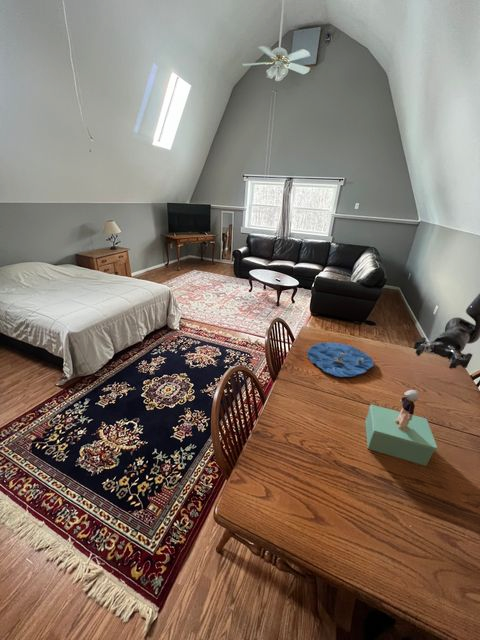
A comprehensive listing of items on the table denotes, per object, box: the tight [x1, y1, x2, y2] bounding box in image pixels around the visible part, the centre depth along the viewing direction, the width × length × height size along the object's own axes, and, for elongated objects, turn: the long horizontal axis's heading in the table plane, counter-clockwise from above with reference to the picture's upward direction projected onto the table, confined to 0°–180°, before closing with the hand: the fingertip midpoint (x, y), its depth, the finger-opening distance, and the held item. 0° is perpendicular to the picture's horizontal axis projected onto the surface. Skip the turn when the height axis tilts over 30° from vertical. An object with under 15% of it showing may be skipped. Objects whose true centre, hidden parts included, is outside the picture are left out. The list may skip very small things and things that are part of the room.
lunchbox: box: [364, 407, 435, 467], centre depth 82 cm, size 16×12×7 cm
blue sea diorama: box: [306, 341, 375, 378], centre depth 124 cm, size 30×30×5 cm
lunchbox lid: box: [369, 404, 438, 451], centre depth 81 cm, size 16×12×1 cm
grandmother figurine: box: [395, 389, 420, 431], centre depth 78 cm, size 8×4×13 cm, turn 0°
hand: (434, 359), depth 79 cm, fingers open, 8 cm apart
